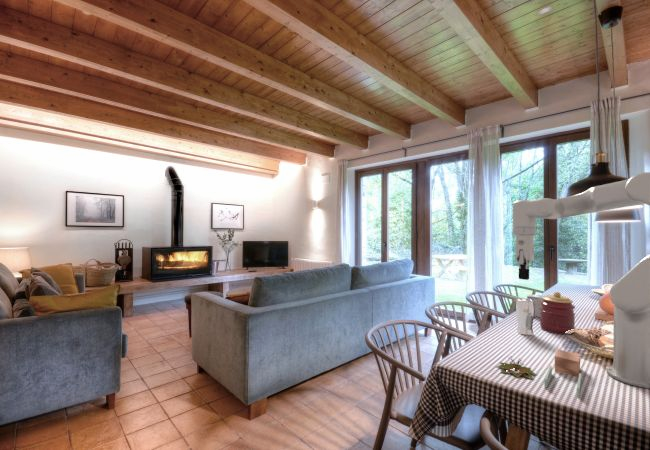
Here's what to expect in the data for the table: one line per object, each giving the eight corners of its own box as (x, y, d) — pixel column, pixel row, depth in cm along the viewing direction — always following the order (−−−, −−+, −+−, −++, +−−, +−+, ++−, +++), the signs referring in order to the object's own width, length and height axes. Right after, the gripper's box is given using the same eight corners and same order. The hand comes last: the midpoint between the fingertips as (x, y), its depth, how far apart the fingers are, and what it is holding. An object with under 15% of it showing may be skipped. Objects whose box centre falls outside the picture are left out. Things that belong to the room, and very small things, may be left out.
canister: (570, 337, 132) (571, 296, 132) (536, 329, 142) (536, 291, 142) (578, 331, 140) (578, 292, 141) (544, 323, 150) (544, 288, 151)
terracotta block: (579, 369, 102) (580, 354, 102) (578, 377, 96) (578, 361, 96) (557, 363, 106) (557, 349, 106) (554, 371, 100) (554, 356, 100)
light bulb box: (550, 315, 165) (550, 296, 165) (551, 318, 159) (551, 298, 159) (526, 312, 171) (526, 293, 171) (527, 315, 165) (527, 295, 165)
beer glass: (538, 334, 134) (538, 300, 134) (527, 336, 132) (527, 302, 132) (522, 329, 141) (523, 297, 141) (512, 331, 138) (512, 298, 138)
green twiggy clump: (540, 385, 91) (540, 370, 91) (494, 375, 97) (495, 360, 97) (536, 369, 102) (536, 355, 102) (495, 361, 108) (495, 348, 108)
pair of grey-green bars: (581, 381, 93) (581, 373, 93) (579, 397, 84) (579, 388, 84) (549, 373, 98) (549, 365, 98) (544, 387, 89) (544, 378, 89)
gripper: (532, 232, 110) (532, 282, 110) (538, 232, 121) (538, 278, 121) (508, 231, 116) (508, 280, 115) (516, 231, 127) (516, 276, 126)
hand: (523, 279), depth 118 cm, fingers closed
